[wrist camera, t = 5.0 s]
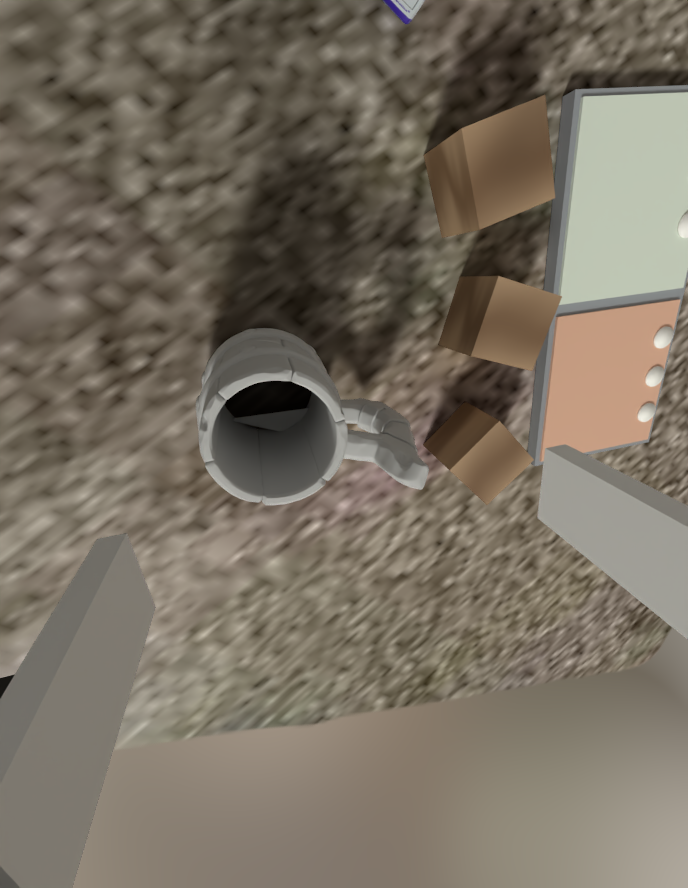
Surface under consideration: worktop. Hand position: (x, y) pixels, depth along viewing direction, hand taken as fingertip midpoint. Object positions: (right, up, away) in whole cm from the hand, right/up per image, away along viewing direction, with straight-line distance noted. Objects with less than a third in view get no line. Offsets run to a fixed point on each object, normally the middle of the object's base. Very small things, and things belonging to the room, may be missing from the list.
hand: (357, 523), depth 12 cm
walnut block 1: (+7, +18, +11) cm, 23 cm away
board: (+19, +13, +16) cm, 28 cm away
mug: (-4, +6, +14) cm, 16 cm away
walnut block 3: (+9, +3, +18) cm, 20 cm away
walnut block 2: (+9, +11, +15) cm, 20 cm away
